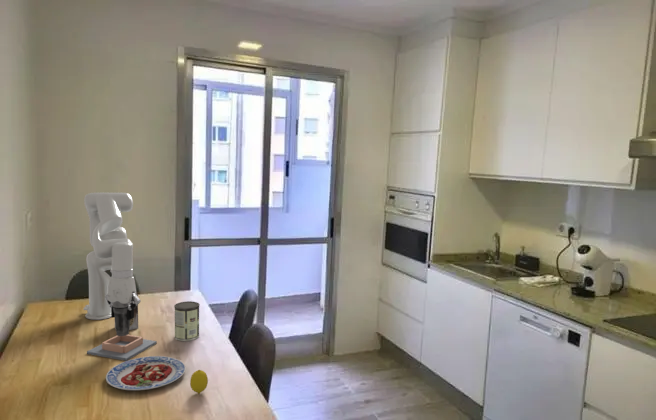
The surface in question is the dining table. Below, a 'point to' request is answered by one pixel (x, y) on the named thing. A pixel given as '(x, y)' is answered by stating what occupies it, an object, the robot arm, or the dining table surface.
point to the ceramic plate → (145, 373)
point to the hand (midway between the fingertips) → (122, 317)
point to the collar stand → (122, 347)
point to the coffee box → (135, 320)
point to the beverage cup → (121, 318)
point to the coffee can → (186, 321)
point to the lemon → (199, 381)
